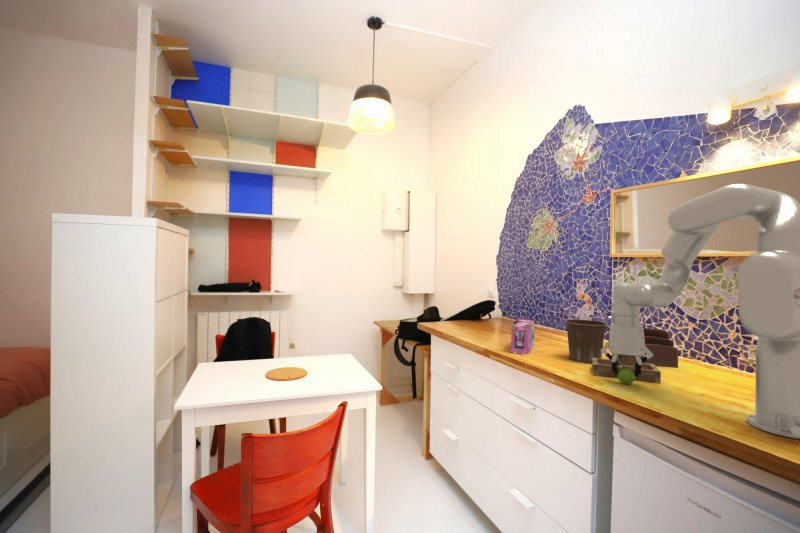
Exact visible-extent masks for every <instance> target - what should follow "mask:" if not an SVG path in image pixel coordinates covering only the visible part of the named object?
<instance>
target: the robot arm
mask: <svg viewBox="0 0 800 533" xmlns="http://www.w3.org/2000/svg"><path fill="white" fill-rule="evenodd" d="M733 219H738V220H744V221H751V222H755V223H757V225H758V227H757V231H756V237H755V238H756V239H755V240H756V242H755V243H756V252H754V253H752V254H750V255H748V256H747V257H745V258H744V259H743V260H742V262H741V263H740V265H739V268H738V271H737V299H738V300H737V302H738V316H739V320H740V321H739V322H740V323H741V326H742V327H743V328H744V329H745V330H746V331H747V332H748V333H750V334H751V335H753V336H755V337H757V341H756V349H755V350H756V351H755V400H754V401H755V406H754V407H755V412H754V413H751V414H748V415H746V422H747V423H748V424H749V425H751V426H752V427H754V428H756V429H759V430H762V431H763V432H767V433H771V434H774V435H778V436H782V437H784V438H785V437H786V438H792V439H796V440H797V439H798V440H800V299H797V298H794V297H795V296H794V291H795V290H797V289H799V288H800V202H799V201H798V200H797V199H795V198H794V197H792V196H791V195H789V194H787V193H784V192H781V191H778V190H773V189H769V188H765V187H760V186H757V185H752V184H749V183H748V184H747V183H733V184H728V185H725V186H722V187H719V188H717V189H715V190H712V191H709V192H707V193H704V194H702V195H700V196H697V197H694V198H692V199H689V200H687V201H684V202H682V203H681V204H679V205H677V206H675V207H674V208H673V209H672V210H671V212H670V213H669V216H668V218H667V224H668V226H669V228H670V229H671V230H672V233H671V234H670V236H669V238H667V240H666V242H665V243H664V245H663V246H662V248H661V251H660V253H661V255H662V257H663V258H664V260H665V269H664V271H663V273H662V275H661V276H660V277H659V279H658V280H657V282H654V283H652V282H649V283H647V282H646V283H627V282H626V283H624V282H623V283H622V282H621V283H615V284H614V285H613V287H612V288H613V289H612V290H613V292H612V294H613V295H612V301H613V302H612V303H613V304H612V312H613V313H612V314H611V315H608V316H607V318H608V319H607V320H608V321H612V323H610V325H609V326H610V327H609V332H608V341H607V343H606V344H604V345H603V347H602V348H601V349H600V350H601V352H602V355H603V354H604V356H606V358H607V359H610V360H611V361H612V371H614V374H615V375H617V362H616V359H617V356H618V355H626V356H635V359H636V363H635V375H636V377H639V374H641V365H642V364H643V363H644V362H645V361H647V360H648V359H649V358H651V357H652V356H653V354H652V353H651V352H650V351H649V350H648V348H647V347H646V346H645V339H644V331H643V328H644V327H643V325H641V324H640V321H641V320H640V310H641V308H659V307H663V308H664V307H667V306H669V305H671V304H672V303H673V302H675V301H676V300H677V298H678V297H679V296H680V294H681V293H682V292H683V290H684V289H685V287H686V286H687V284H688V282H689V279H690V276H691V273H692V270H693V269H692V267H693V266H692V265H693V264H694V262H695V260H696V258H698V256H699V255H700V253H701V251H702V250H703V248H704V247H705V246H706V244H707V243H708V242H709V240H710V239H711V238H712V236H713V235H714V233H715V232H716V230H717V229H718V228H719V226H720V224H721V223H724V222H726V221H728V220H733ZM608 350H609V352H608ZM645 352H646V355H645ZM611 354H612V355H611ZM644 355H645V356H644ZM640 356H643V357H641V358H640Z"/></svg>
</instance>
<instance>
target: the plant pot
mask: <svg viewBox="0 0 800 533" xmlns="http://www.w3.org/2000/svg"><path fill="white" fill-rule="evenodd" d="M564 323H565V329H566V332H567V342H568V344H567V345H568V356H569V359H571V361H574V362H578V363H584V364H591V363H592V358H602V359H603V353H602V352H601V350H600V349H601V348H602V347H603V346H604V340H605V334H606V331H607V326H608V323H607V322H604V321H599V320H590V319H579V318H578V319H574V318H572V319H571V318H570V319H565V320H564Z"/></svg>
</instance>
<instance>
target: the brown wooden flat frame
mask: <svg viewBox="0 0 800 533" xmlns="http://www.w3.org/2000/svg"><path fill="white" fill-rule="evenodd" d="M616 362H617V360H616ZM635 363H636V362H635ZM635 363H634V364H632V365H635ZM621 367H622V366H621V365H619V364H618V362H617V370H618V369H619V368H621ZM631 369H632V370H633V371H634V372H635V367H633V368H631ZM591 370H592V376H595V377H602V378H611V379H618V378H617V375H615V374H614V371H612V361H611V360H610V359H609V358H603V357H602V358H592V362H591ZM661 373H662V371H661V370H660V369H659V368H658V366H655V365H654V364H649V363H643V364H642V365H641V374H639V377H636V378H635V380H634V382H643V383H650V384H651V383H652V384H661V382H662V380H661V378H662V377H661V376H662V375H661Z"/></svg>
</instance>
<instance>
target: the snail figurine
mask: <svg viewBox="0 0 800 533" xmlns="http://www.w3.org/2000/svg"><path fill="white" fill-rule="evenodd" d="M616 360H617V362H618V364H619V365H621V366H622V367H621V368H619V369H618V370H617V378H616V379H618V381H619V382H621V383H622V384H627V385H628V384H632V383H633V382H635V381H634V380H635V378H636V375H635V372H634V371H633V370H632V369H631V368H633V367H635V365H632V364H634V363H635V357H634V356H626V355H620V357H619V355H618V356H617V359H616Z"/></svg>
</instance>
